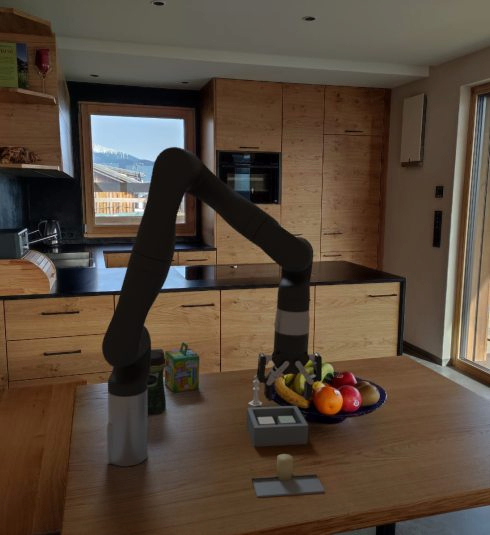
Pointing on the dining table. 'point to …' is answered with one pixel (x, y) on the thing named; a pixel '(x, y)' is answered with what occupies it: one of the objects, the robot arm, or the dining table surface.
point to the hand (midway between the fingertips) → (287, 399)
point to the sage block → (286, 420)
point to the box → (277, 427)
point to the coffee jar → (156, 383)
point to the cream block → (265, 421)
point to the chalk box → (182, 369)
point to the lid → (286, 481)
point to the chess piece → (255, 393)
